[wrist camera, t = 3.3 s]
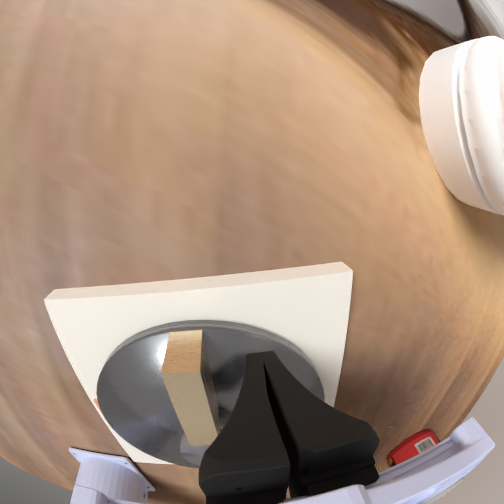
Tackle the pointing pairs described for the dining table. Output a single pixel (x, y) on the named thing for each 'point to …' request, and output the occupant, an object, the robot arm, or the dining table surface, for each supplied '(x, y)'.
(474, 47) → the honey pot
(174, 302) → the base
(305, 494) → the robot arm
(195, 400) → the handwheel
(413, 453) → the canned food
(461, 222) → the dining table surface
